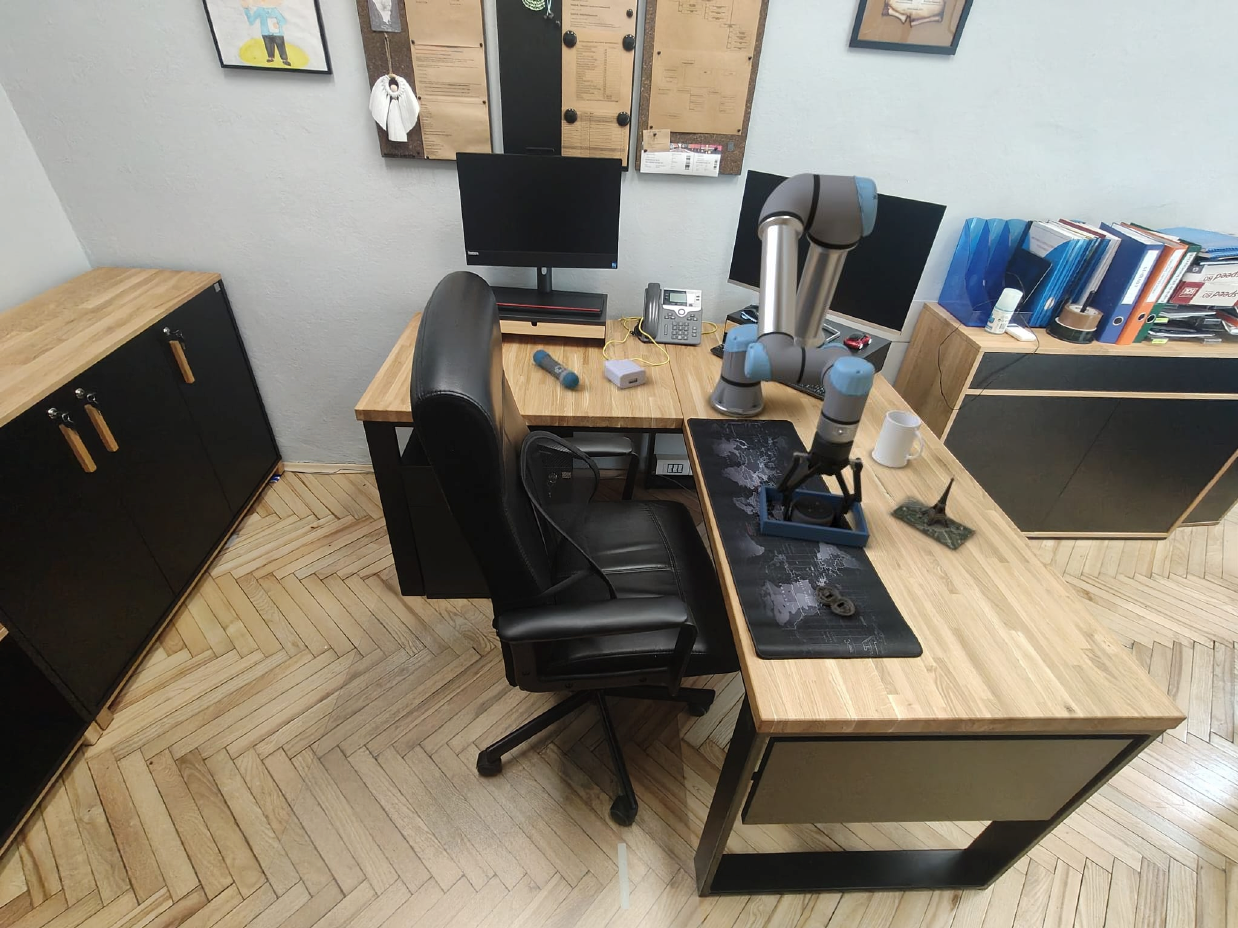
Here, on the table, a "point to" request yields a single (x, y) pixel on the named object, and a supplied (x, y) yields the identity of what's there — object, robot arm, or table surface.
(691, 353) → the table surface
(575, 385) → the grey and blue rod
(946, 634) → the table surface
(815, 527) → the rectangular frame
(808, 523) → the smart speaker
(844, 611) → the corroded twin loop
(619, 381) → the charger
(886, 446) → the mug
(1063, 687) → the table surface
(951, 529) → the eiffel tower figurine
